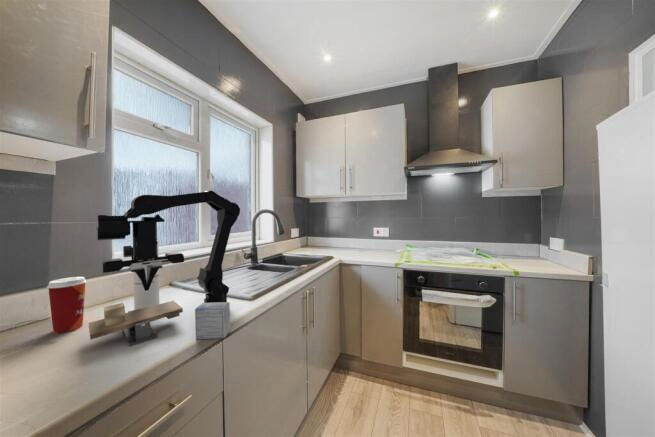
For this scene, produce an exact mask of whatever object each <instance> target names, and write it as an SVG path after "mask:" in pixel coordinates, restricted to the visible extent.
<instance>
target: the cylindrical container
mask: <svg viewBox="0 0 655 437" xmlns="http://www.w3.org/2000/svg"><path fill="white" fill-rule="evenodd" d="M159 252H160V251H159V240H157V253H158V257H160V255H159V254H160V253H159ZM148 260H149V259H148ZM139 261H141V260H139ZM147 265H149V264H145V265H143V266H142V267H143V268H144V269H145V274H146V278H147ZM158 304H160V268H159V269H158V271H157V273H156V275H155V276H154V278H153V281H152V283H151V285H150V288H149V290H147V291H145V290H144V288H143V286H142V284H141V281H140V279H139V277H138V276H137V274H136V273H135V272H133V306H134V308H133V310H137V309H143V308H147V307H151V306H155V305H158Z"/></svg>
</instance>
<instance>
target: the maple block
mask: <svg viewBox="0 0 655 437" xmlns="http://www.w3.org/2000/svg"><path fill="white" fill-rule="evenodd" d="M125 313H126V310H125V304H124V303H123V302H121V303H116V304H112V305H108V306H103V314H104V318H103V319H105V326H108V325H112V324H115V323H119V322H123V321H125Z"/></svg>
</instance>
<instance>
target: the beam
mask: <svg viewBox="0 0 655 437" xmlns="http://www.w3.org/2000/svg"><path fill="white" fill-rule="evenodd" d="M131 311H132V310H131ZM183 311H184V310H183V307H181V306H180V305H179V304H178V303H177V302H175V301H174V300H171V301H166V302H164V303H159V304H158V305H155V306H151V307H147V308H143V309H139V310H136V311H132V312H125V321H123V322H119V323H115V324H112V325H108V326H105V319H104V318H102V319H97V320H94V321H91V322H88V332H89V338H90V341H91V340H94V339H98V338H101V337H104V336H107V335H111V334H114V333H117V332H118V333H119V332H121V331H123V330H125V329H128V328H131V327H135V324H136V323H140V322H144V321H148V320H149V321H150V323H151V322H154V321H158V320H161V319H165V318H167V319H168V320H171V319H173V318H177V317H179V316H180V314H181V313H183Z"/></svg>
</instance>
